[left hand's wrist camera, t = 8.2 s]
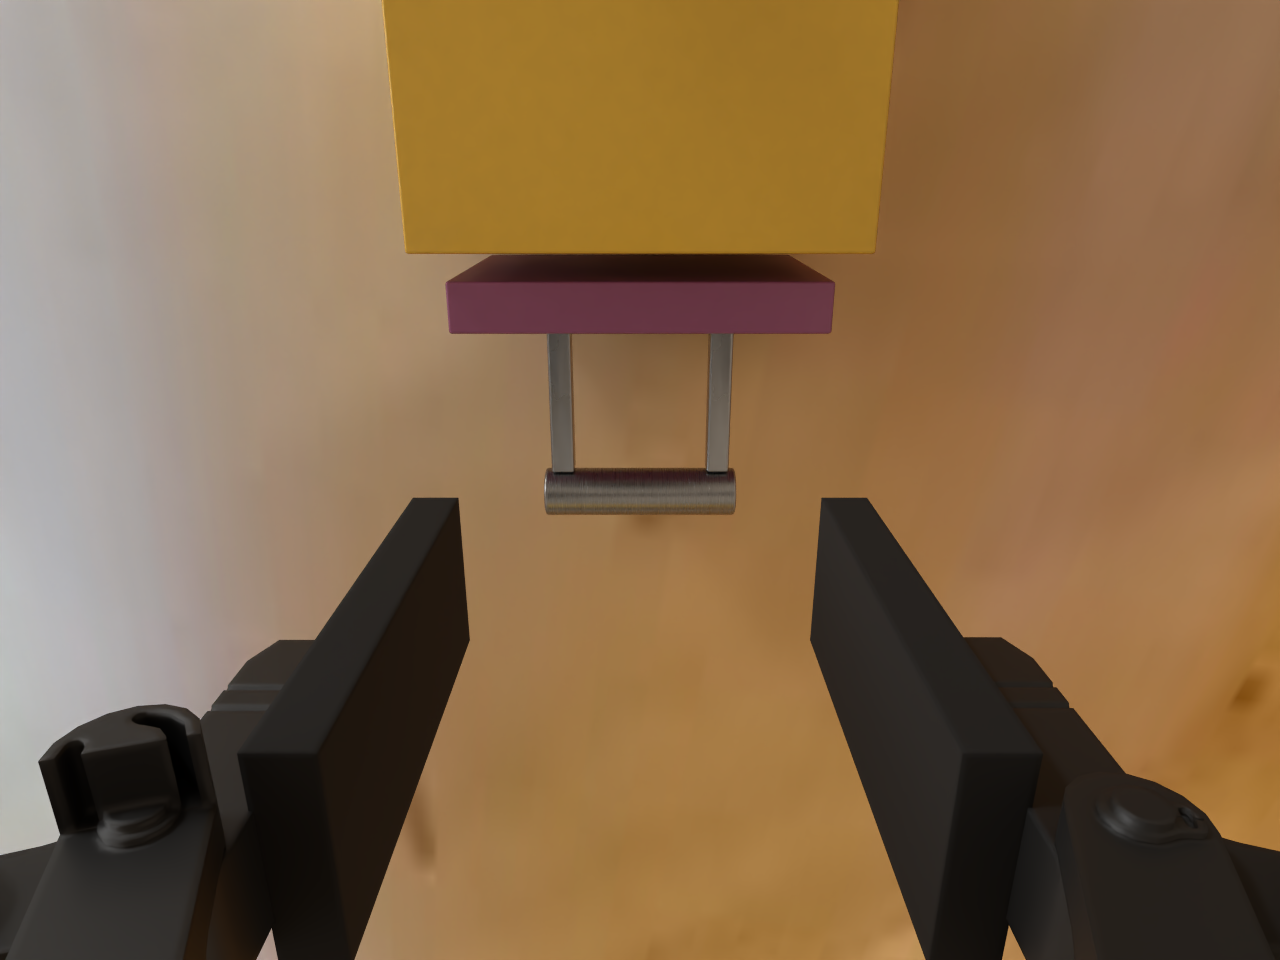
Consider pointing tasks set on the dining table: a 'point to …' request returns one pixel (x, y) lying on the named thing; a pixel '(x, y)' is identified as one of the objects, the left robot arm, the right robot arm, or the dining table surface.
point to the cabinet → (640, 124)
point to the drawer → (640, 304)
